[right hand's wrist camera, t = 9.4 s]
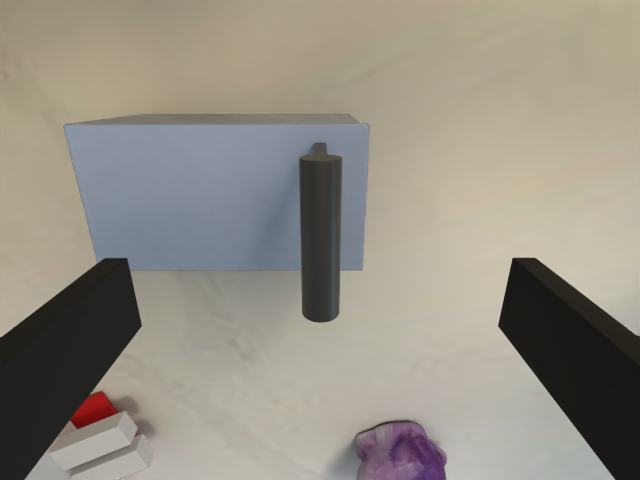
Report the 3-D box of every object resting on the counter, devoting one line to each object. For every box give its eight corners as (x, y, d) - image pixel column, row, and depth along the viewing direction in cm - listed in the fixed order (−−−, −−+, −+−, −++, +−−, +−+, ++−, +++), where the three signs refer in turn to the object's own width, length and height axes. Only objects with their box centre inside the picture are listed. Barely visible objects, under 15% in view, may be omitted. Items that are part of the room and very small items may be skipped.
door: (368, 123, 22) (393, 139, 15) (361, 265, 26) (379, 337, 18) (71, 123, 22) (-59, 139, 15) (105, 265, 26) (16, 338, 18)
